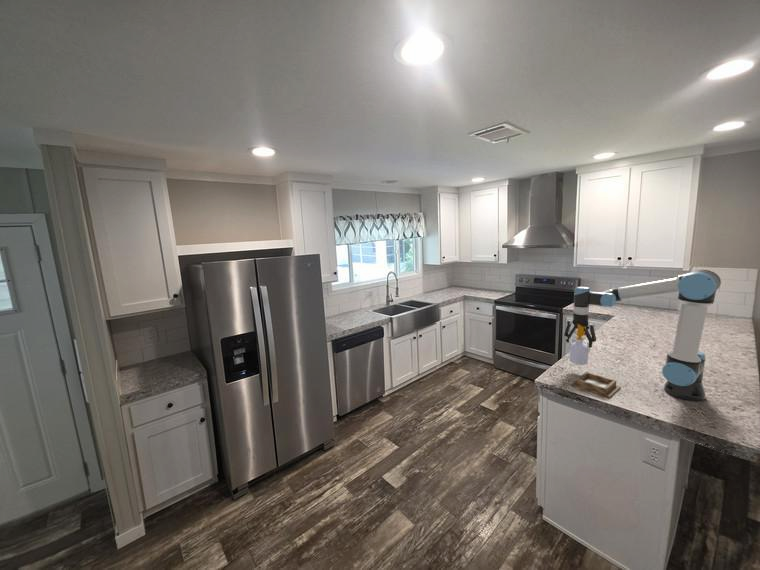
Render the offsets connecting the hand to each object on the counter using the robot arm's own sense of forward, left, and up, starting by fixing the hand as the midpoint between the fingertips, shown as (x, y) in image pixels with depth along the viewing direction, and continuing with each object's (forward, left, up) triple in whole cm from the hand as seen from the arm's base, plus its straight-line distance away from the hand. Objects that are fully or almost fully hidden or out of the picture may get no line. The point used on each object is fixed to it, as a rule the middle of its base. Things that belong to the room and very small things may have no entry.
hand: (579, 350), depth 186 cm
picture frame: (-14, +12, -14) cm, 23 cm away
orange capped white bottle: (0, 0, -8) cm, 8 cm away
